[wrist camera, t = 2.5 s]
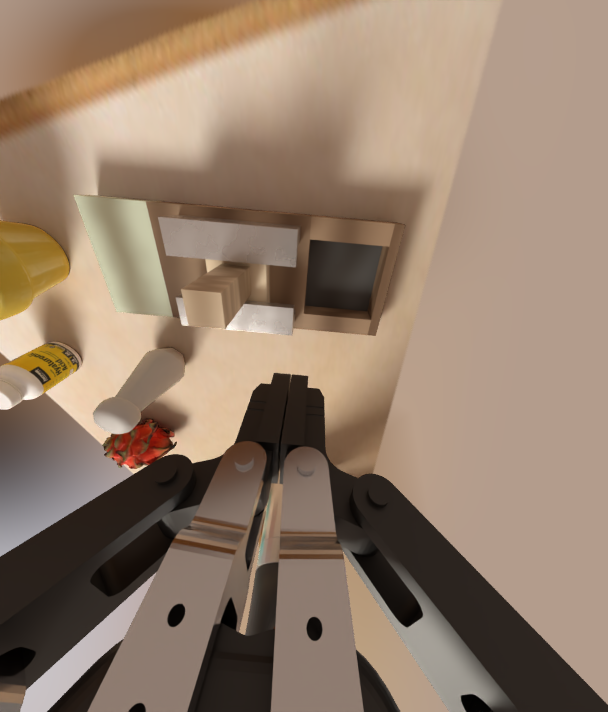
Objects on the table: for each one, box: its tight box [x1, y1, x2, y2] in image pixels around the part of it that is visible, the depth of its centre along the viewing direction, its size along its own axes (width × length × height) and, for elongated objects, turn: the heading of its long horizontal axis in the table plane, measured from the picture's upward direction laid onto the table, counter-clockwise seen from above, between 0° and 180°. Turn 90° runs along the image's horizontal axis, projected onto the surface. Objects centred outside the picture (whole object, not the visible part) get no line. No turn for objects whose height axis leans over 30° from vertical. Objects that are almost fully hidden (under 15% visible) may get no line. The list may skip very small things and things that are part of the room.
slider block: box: [181, 259, 270, 329], centre depth 22 cm, size 6×6×10 cm
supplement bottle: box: [0, 342, 82, 409], centre depth 33 cm, size 5×5×10 cm
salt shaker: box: [93, 348, 185, 434], centre depth 31 cm, size 6×6×13 cm
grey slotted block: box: [158, 215, 301, 335], centre depth 25 cm, size 12×10×4 cm
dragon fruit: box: [102, 419, 177, 469], centre depth 43 cm, size 8×8×12 cm
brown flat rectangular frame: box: [74, 195, 405, 336], centre depth 27 cm, size 32×12×3 cm, turn 86°
